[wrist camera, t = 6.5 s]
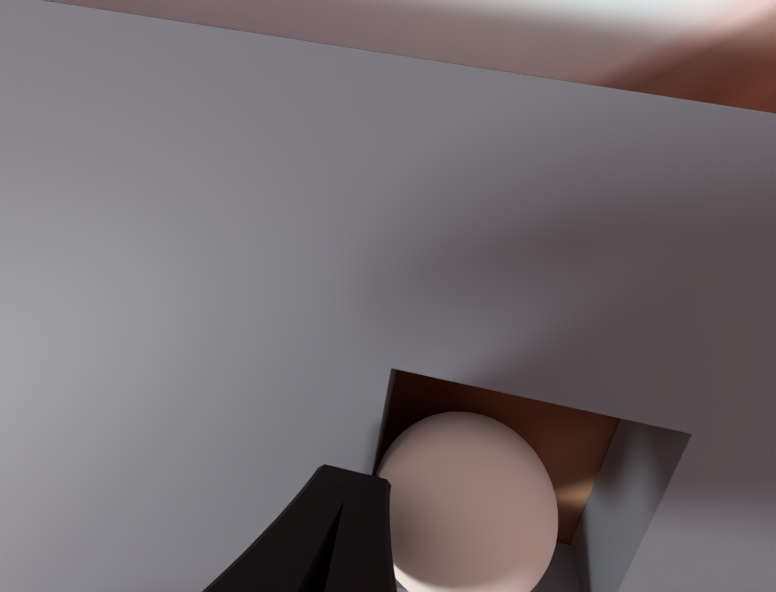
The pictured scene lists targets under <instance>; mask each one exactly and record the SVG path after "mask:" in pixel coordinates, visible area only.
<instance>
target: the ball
mask: <svg viewBox="0 0 776 592" xmlns="http://www.w3.org/2000/svg"><path fill="white" fill-rule="evenodd" d="M375 476H376V477H380V478H384V479H387V480H388V481H389V483H390V484H391V492H390V533H391V547H392V556H393V565H394V572H395V578H396V579H397V580H398V581H399V582H400V583H401V585H402V586H403V587H405V588H406V589H407V590H408V591H409V592H530V591H531V590H532V589H533V588H534V587H535V586H536V585H537V583H538V582H539V580H540V579H541V577H542V576H543V574H544V573H545V571H546V569H547V567H548V566H549V563H550V561H551V558H552V555H553V552H554V549H555V545H556V539H557V532H558V509H557V502H556V497H555V492H554V489H553V486H552V482H551V480H550V477H549V475H548V473H547V471H546V469H545V467H544V465H543V463H542V462H541V460H540V459H539V457H538V456H537V454H536V453H535V451H534V450H533V449H532V448H531V446H530V445H529V444H528V443H527V442H526V441H525V440H524V439H523V438H522V437H521V436H519V435H518V434H517V433H516V432H515V431H514V430H512V429H511V428H509V427H507V426H506V425H504V424H502V423H501V422H499V421H497V420H495V419H492V418H490V417H487V416H484V415H481V414H476V413H471V412H455V411H452V412H444V413H440V414H436V415H432V416H429V417H426V418H424V419H422V420H420V421H418V422H416V423H414V424H413V425H411V426H410V427H408V428H407V429H406V430H405V431H403V432H402V433H401V434H400V435H399V436H398V437H397V438H396V439H395V440H394V441H393V443H392V444H391V445H390V446H389V448H388V449H387V451H386V453H385V454H384V456H383V458H382V460H381V462H380V464H379V466H378V469H377V472H376V475H375Z"/></svg>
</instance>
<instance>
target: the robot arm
mask: <svg viewBox="0 0 776 592" xmlns="http://www.w3.org/2000/svg"><path fill="white" fill-rule="evenodd" d="M390 492H391V484H390V483H389V481H388V480H387V479H384V478H380V477H376V476H372V475H368V474H364V473H360V472H355V471H351V470H347V469H343V468H339V467H335V466H331V465H327V464H324V465H322V466H320V467H318V468H317V470H316V471H315V473H314V474H313V475H312V477H311V478H310V479H309V480H308V482H307V483H306V484H305V485H304V487H303V488H302V489H301V490H300V492H299V493H298V494H297V495H296V496H295V498H294V499H293V500H292V501H291V502H290V503H289V504H288V506H287V507H286V508H285V509H284V510H283V511H282V512H281V513H280V515H279V516H278V517H277V518H276V519H275V520H274V521H273V522H272V523H271V524H270V525H269V526H268V527H267V528H266V529H265V530H264V531H263V533H262V534H261V535H260V536H259V537H258V538H257V539H256V540H255V541H254V542H253V543H252V544H251V545H250V546H249V547H248V548H247V549H246V550H245V551H244V552H243V553H242V554H241V555H240V556H239V557H238V558H237V559H236V560H235V561H234V562H233V563H232V564H231V565H230V566H229V567H228V568H227V569H225V570H224V571H223V572H222V573H221V574H220V575H219V576H218V577H217V578H216V579H215V580H214V581H213V582H212V583H211V584H210V585H209V586H207V587H206V588H205V589H204V590H203V591H202V592H397V586H396V579H395V572H394V565H393V556H392V547H391V533H390Z"/></svg>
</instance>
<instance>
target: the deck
mask: <svg viewBox="0 0 776 592" xmlns="http://www.w3.org/2000/svg"><path fill="white" fill-rule="evenodd" d="M397 370H402V371H407V372H411V373H416V374H420V375H425V376H429V377H434V378H439V379H443V380H448V381H452V382H457V383H461V384H466V385H470V386H475V387H480V388H484V389H489V390H493V391H498V392H502V393H507V394H512V395H516V396H521V397H525V398H530V399H534V400H539V401H544V402H548V403H553V404H557V405H562V406H566V407H571V408H575V409H580V410H585V411H589V412H594V413H598V414H603V415H607V416H612V417H617V418H620V421H619V423H618V426H617V428H616V431H615V433H614V436H613V438H612V441H611V443H610V446H609V448H608V451H607V453H606V456H605V458H604V461H603V463H602V466H601V468H600V471H599V473H598V476H597V478H596V481H595V483H594V486H593V488H592V491H591V493H590V496H589V498H588V501H587V503H586V506H585V509H584V511H583V514H582V516H581V519H580V521H579V524H578V526H577V529H576V531H575V534H574V536H573V539H572V541H571V544H570V545H567V544H563V543H559V542H556V545H555V549H554V552H553V555H552V558H551V561H550V563H549V566H548V567H547V569H546V571H545V573H544V574H543V576H542V577H541V579H540V580H539V582H538V583H537V585H536V586H535V587H534V588H533V589H532V590H531V591H530V592H776V113H770V112H763V111H757V110H750V109H744V108H738V107H731V106H725V105H718V104H712V103H705V102H699V101H692V100H686V99H679V98H673V97H666V96H660V95H653V94H647V93H640V92H634V91H627V90H621V89H614V88H608V87H601V86H595V85H589V84H582V83H576V82H569V81H563V80H556V79H550V78H543V77H537V76H530V75H524V74H517V73H511V72H504V71H498V70H491V69H485V68H478V67H472V66H465V65H459V64H452V63H446V62H440V61H433V60H427V59H420V58H414V57H407V56H401V55H394V54H388V53H381V52H375V51H368V50H362V49H355V48H349V47H342V46H336V45H329V44H323V43H316V42H310V41H303V40H297V39H291V38H284V37H278V36H271V35H265V34H258V33H252V32H245V31H239V30H232V29H226V28H219V27H213V26H206V25H200V24H193V23H187V22H180V21H174V20H167V19H161V18H154V17H148V16H142V15H135V14H129V13H122V12H116V11H109V10H103V9H96V8H90V7H83V6H77V5H70V4H64V3H57V2H51V1H44V0H0V592H202V591H203V590H204V589H205V588H206V587H207V586H209V585H210V584H211V583H212V582H213V581H214V580H215V579H216V578H217V577H218V576H219V575H220V574H221V573H222V572H223V571H224V570H225V569H227V568H228V567H229V566H230V565H231V564H232V563H233V562H234V561H235V560H236V559H237V558H238V557H239V556H240V555H241V554H242V553H243V552H244V551H245V550H246V549H247V548H248V547H249V546H250V545H251V544H252V543H253V542H254V541H255V540H256V539H257V538H258V537H259V536H260V535H261V534H262V533H263V531H264V530H265V529H266V528H267V527H268V526H269V525H270V524H271V523H272V522H273V521H274V520H275V519H276V518H277V517H278V516H279V515H280V513H281V512H282V511H283V510H284V509H285V508H286V507H287V506H288V504H289V503H290V502H291V501H292V500H293V499H294V498H295V496H296V495H297V494H298V493H299V492H300V490H301V489H302V488H303V487H304V485H305V484H306V483H307V482H308V480H309V479H310V478H311V477H312V475H313V474H314V473H315V471H316V470H317V468H318V467H320V466H322V465H324V464H327V465H331V466H335V467H339V468H343V469H347V470H351V471H355V472H360V473H364V474H368V475H372V476H375V475H376V472H377V469H378V466H379V462H380V456H381V451H382V446H383V440H384V435H385V430H386V424H387V419H388V414H389V408H390V403H391V398H392V393H393V387H394V382H395V377H396V371H397ZM395 579H396V578H395ZM396 586H397V592H409V591H408V590H407V589H406V588H405V587H403V586H402V585H401V583H400V582H399V581H398V580H397V579H396Z"/></svg>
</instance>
